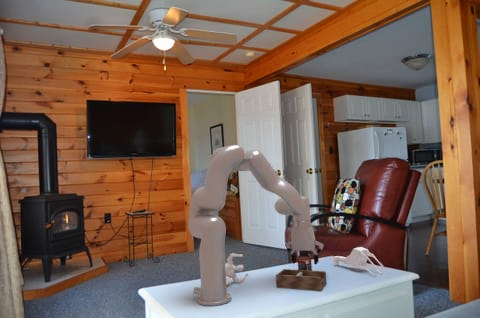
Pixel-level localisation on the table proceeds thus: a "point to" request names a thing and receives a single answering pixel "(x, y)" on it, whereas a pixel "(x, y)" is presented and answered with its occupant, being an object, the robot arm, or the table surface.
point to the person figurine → (233, 270)
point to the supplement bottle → (304, 261)
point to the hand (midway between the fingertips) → (305, 263)
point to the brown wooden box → (301, 280)
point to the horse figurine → (358, 259)
